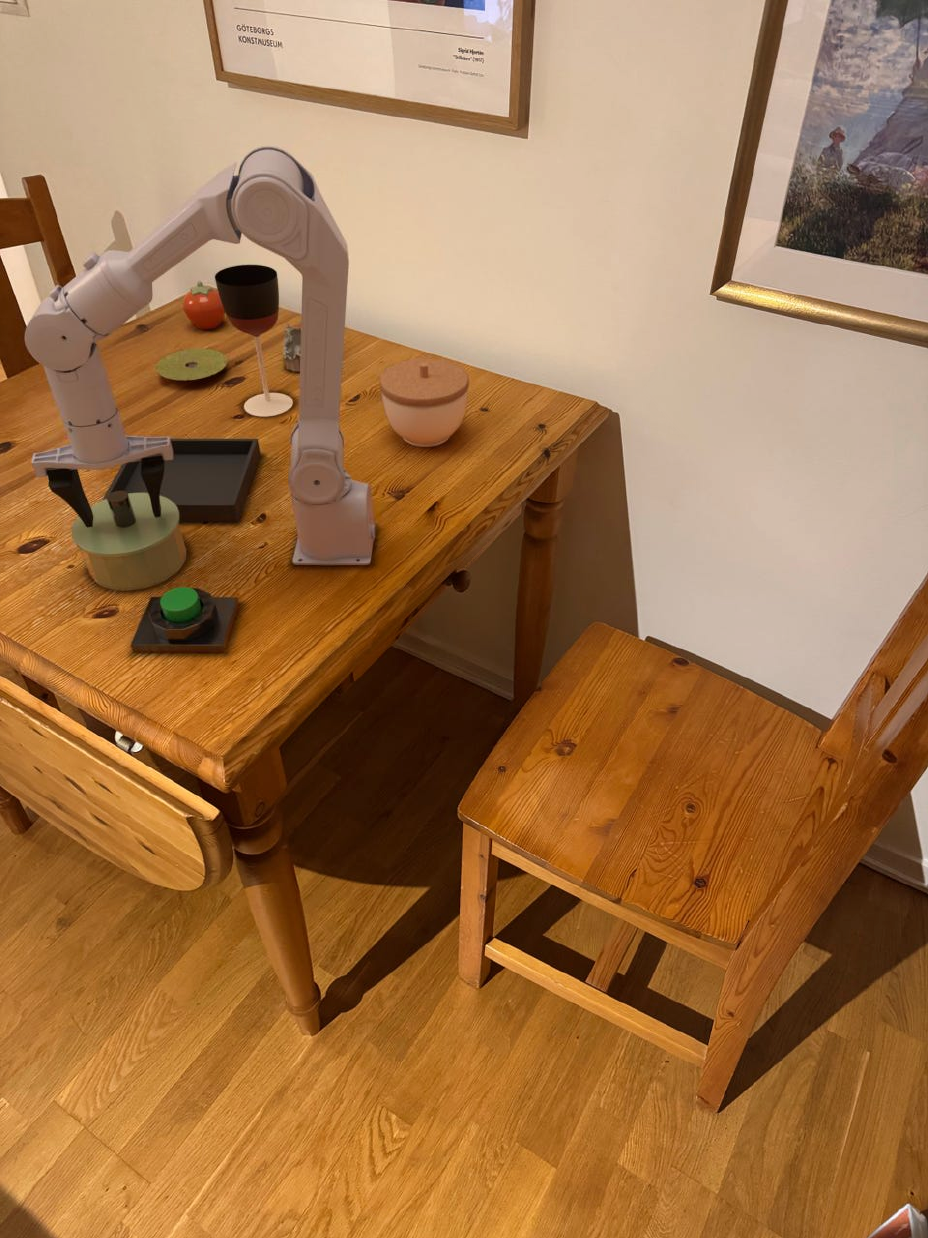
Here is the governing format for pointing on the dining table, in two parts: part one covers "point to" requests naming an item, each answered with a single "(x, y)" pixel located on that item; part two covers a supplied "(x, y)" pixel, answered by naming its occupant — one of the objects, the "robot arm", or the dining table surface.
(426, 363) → the lidded bowl
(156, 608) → the panel
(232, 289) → the wineglass
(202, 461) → the tray
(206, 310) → the tomato
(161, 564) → the pot
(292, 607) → the dining table surface
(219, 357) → the mat
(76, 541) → the lid
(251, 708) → the dining table surface
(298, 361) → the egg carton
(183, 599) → the button
